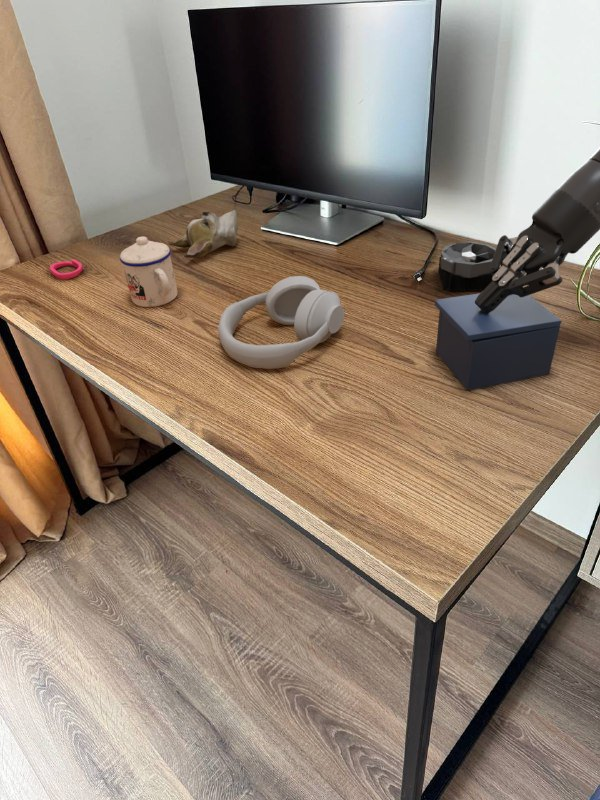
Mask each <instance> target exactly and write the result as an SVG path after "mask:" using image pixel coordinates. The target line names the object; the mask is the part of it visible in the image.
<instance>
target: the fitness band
mask: <svg viewBox="0 0 600 800" xmlns="http://www.w3.org/2000/svg"><path fill="white" fill-rule="evenodd" d="M67 266H69V267H74V268H76V269H75V270H73V271H69V272H66V273H64V272H63V273H62V272H59V271H58V269H60V268H63V267H67ZM49 272H50V273H51V275H52V276H53V277H55V278H57V279H58V280H65V281H66V280H71V279H73V278H75V277H77V276H79V275H80V274H81V273H82V272H85V267H83V264H82V262H80V261H78V260H77V259H75V258H72V259H71V260H70V261H58V262H55V263H53V264H50V265H49Z"/></svg>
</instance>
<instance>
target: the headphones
mask: <svg viewBox="0 0 600 800" xmlns="http://www.w3.org/2000/svg"><path fill="white" fill-rule="evenodd" d="M261 304H265V308H266V311H267V313H268V315H269V317H270V319H272V320H273V321H274V322H275V323H278V324H281V325H283V326H294V332H295V335H296V337H297V338H298V339H299V341H294V342H286V343H285V342H284V343H277V344H260V345H258V344H252V343H245V342H242V341H241V340H238V339H236V338H235V337H234V336H233V335H234V333H235V331H236V329H237V327H238V325H240V322H241V321H242V320H243V319H244V316H245V315H246V313H248V312H249V311H251V309H253V308H255V307H256V306H258V305H261ZM344 319H345V309H344V307H343V306H341V300H340V296H339V294H337V293H336V292H333V291H331V290H330V291H329V290H327V289H326V290H325V289H321V288H320V286H319V284H318V283H317V282H316V281H315V280H314V279H313V278H310V277H308V276H303V275H294V276H288V277H285V278H283V279H281V280H279V281H278V282H276V283H275V284H274V285H273V286H271V288H270V290H269V291H267V292H262V293H258V294H256V295H251V296H249V297H247V298H244V299H243V300H239V301H238V302H237V301H235V302H233V303H231V304H229V305H228V306H227V307H226V308H225V309H224V310H223V312H222V314H221V316H220V318H219V321H218V326H217V334H218V337H219V341H220V344H221V347H222V348H223V350H224V351H225V352H226V353H227V355H228V356H229V357H230V358H232V360H234V361H236V362H238V363H239V364H242V365H245V366H247V367H249V368H252V369H253V368H255V369H266V370H275V369H276V370H277V369H281V368H282V369H283V368H286V367H288V366H290V365H291V364H293V363H295V362H296V359H298V358H300V357H301V355H303V354H305V353H308V352H309V351H311V350H312V349H313V348H315V347H316V346H317V345H318V344H321V343H324V342H325V341H327V340H328V339H329V338H330V337H331V336H332V334H335V333H337V332H338V331H340V328H342V325H343V322H344Z"/></svg>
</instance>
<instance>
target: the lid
mask: <svg viewBox="0 0 600 800" xmlns="http://www.w3.org/2000/svg"><path fill="white" fill-rule="evenodd" d="M480 293H481V292H480ZM480 293H473V294H467V295H460V296H459V295H458V296H452V297H446V298H445V297H444V298H439V299H434V304H433V305H434V307H436V309H437V310H438V311H440V312H441V313H442V314H443V315H444V316H445V317H446V318H447V319H448V320H449V321H450V322H451V323H452V324H453V325H454V326H455V328H456V329H457V330H458V331H459V332H460V333H461V334H462V335H463V336H464V337H465V338H466V339H467V340H468V341H470V340H476V339H482V338H489V337H495V336H501V335H507V334H513V333H519V332H525V331H532V330H538V329H544V328H550V327H556V326H560V327H561V324H562V320H561V319H560V318H559V317H558V316H557V315H556V314H554V313H553V312H552V311H550V310H549V309H548V308H546V307H545V306H544V305H543V304H542V303H540V302H539V301H538V300H536V299H535V298H533V297H532V296H531V295H528V296H525V297H519V296H518V295H514V294H513V295H509V296H508V297H507V298H506V299H505V300H504V301H503V302H502V303H501V304H499V306H497V308H496V309H495V310H493V311H491V312H490V313H488V314H486V313H484V312H483V311H482V310H481V309H480V308H479V307H478V306H477V305H476V304H475V300H476V299H477V297H478V295H479V294H480Z"/></svg>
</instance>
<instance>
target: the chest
mask: <svg viewBox="0 0 600 800" xmlns="http://www.w3.org/2000/svg"><path fill="white" fill-rule="evenodd" d="M438 311H439V312H438V324H437V336H436V345H435V346H436V347H435V353H436V354H437V355H438V357H439V358H440V359H441V360H442V362H443V363H444V364H445V365H446V366H447V368H448V369H449V371H451V372H452V374H453V375H454V376H455V377H456V379H457V380H458V381H459V383H460V384H461V385H462V386H463V387H464V388H465V390H466V391H471V390H478V389H483V388H488V387H492V386H497V385H501V384H502V385H503V384H507V383H511V382H517V381H521V380H527V379H532V378H536V377H541V376H547V375H550V373H551V368H552V363H553V359H554V355H555V350H556V347H557V341H558V338H559V334H560V329H561V325H560V326H556V327H550V328H544V329H538V330H532V331H525V332H519V333H513V334H507V335H501V336H495V337H489V338H482V339H476V340H470V341H468V340H467V339H466V338H465V337H464V336H463V335H462V334H461V333H460V332H459V331H458V330H457V329H456V328H455V326H454V325H453V324H452V323H451V322H450V321H449V320H448V319H447V318H446V317H445V316H444V315H443V314H442V313H441V312H440V310H438Z"/></svg>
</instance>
